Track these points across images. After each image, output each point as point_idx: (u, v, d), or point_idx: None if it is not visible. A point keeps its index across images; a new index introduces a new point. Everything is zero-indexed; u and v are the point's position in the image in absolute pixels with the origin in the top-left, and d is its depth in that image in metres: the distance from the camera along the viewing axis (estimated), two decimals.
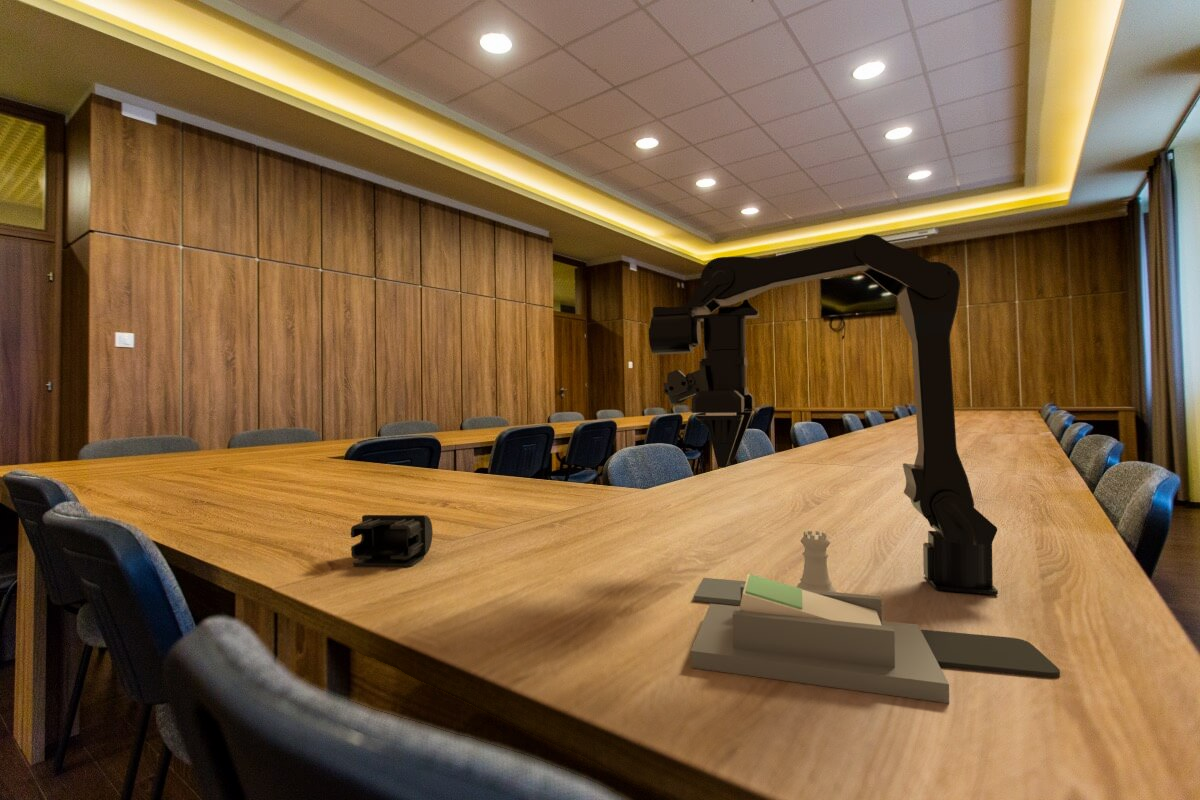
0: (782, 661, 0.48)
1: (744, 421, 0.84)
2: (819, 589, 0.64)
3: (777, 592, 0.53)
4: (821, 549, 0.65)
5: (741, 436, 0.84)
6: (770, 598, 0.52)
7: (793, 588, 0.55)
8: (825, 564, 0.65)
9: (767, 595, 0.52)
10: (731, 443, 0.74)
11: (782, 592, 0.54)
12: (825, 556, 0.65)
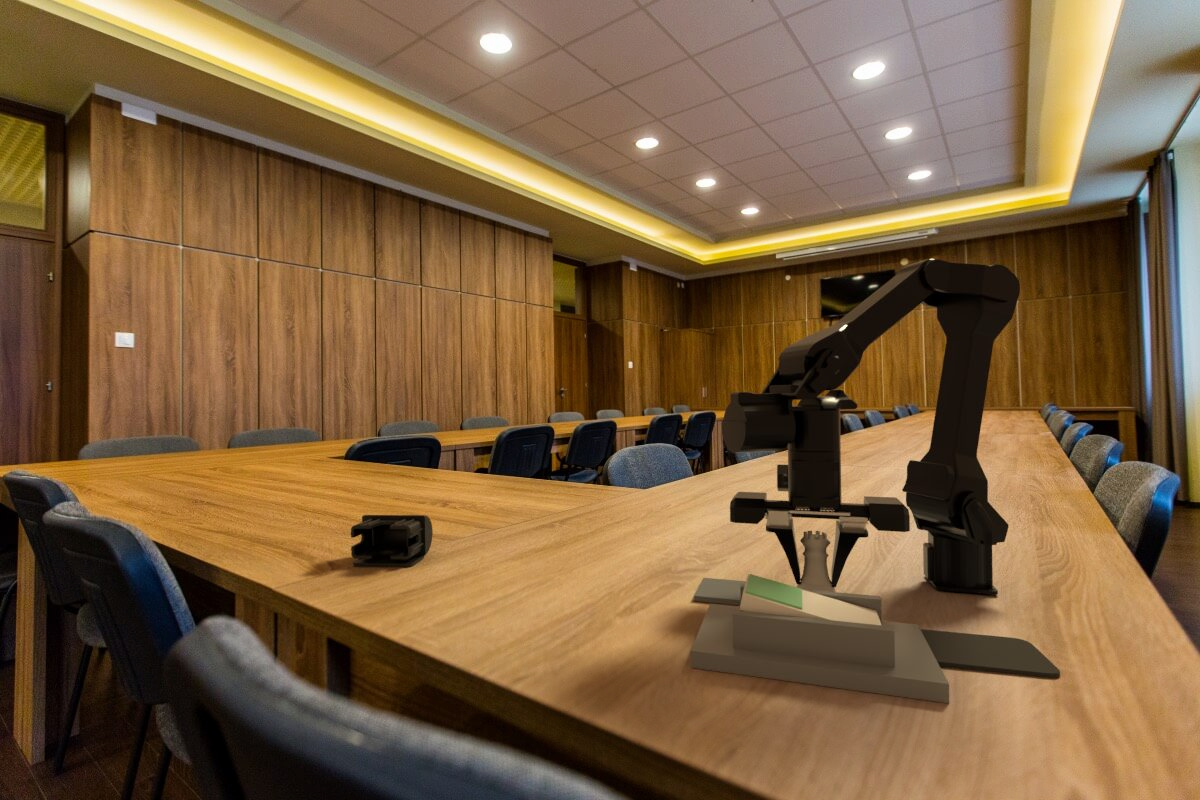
0: (782, 661, 0.48)
1: (837, 542, 0.63)
2: (819, 589, 0.64)
3: (777, 592, 0.53)
4: (821, 549, 0.65)
5: (834, 560, 0.64)
6: (770, 598, 0.52)
7: (793, 588, 0.55)
8: (826, 563, 0.65)
9: (767, 595, 0.52)
10: (789, 558, 0.65)
11: (782, 592, 0.54)
12: (825, 556, 0.65)
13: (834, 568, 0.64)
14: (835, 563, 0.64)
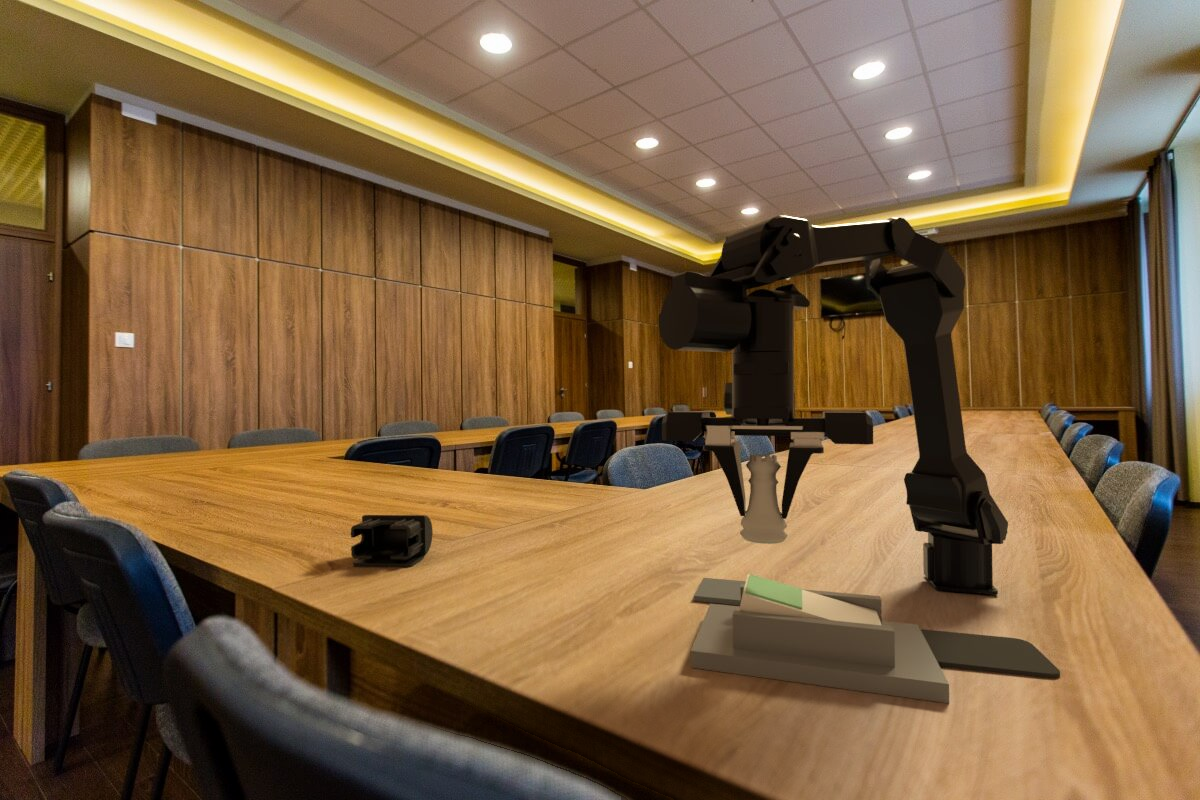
0: (782, 661, 0.48)
1: None
2: (765, 520, 0.53)
3: (777, 592, 0.53)
4: (769, 473, 0.54)
5: (784, 484, 0.53)
6: (770, 598, 0.52)
7: (793, 588, 0.55)
8: (775, 491, 0.54)
9: (767, 595, 0.52)
10: (730, 483, 0.54)
11: (782, 592, 0.54)
12: (774, 482, 0.54)
13: (784, 494, 0.53)
14: (785, 488, 0.53)
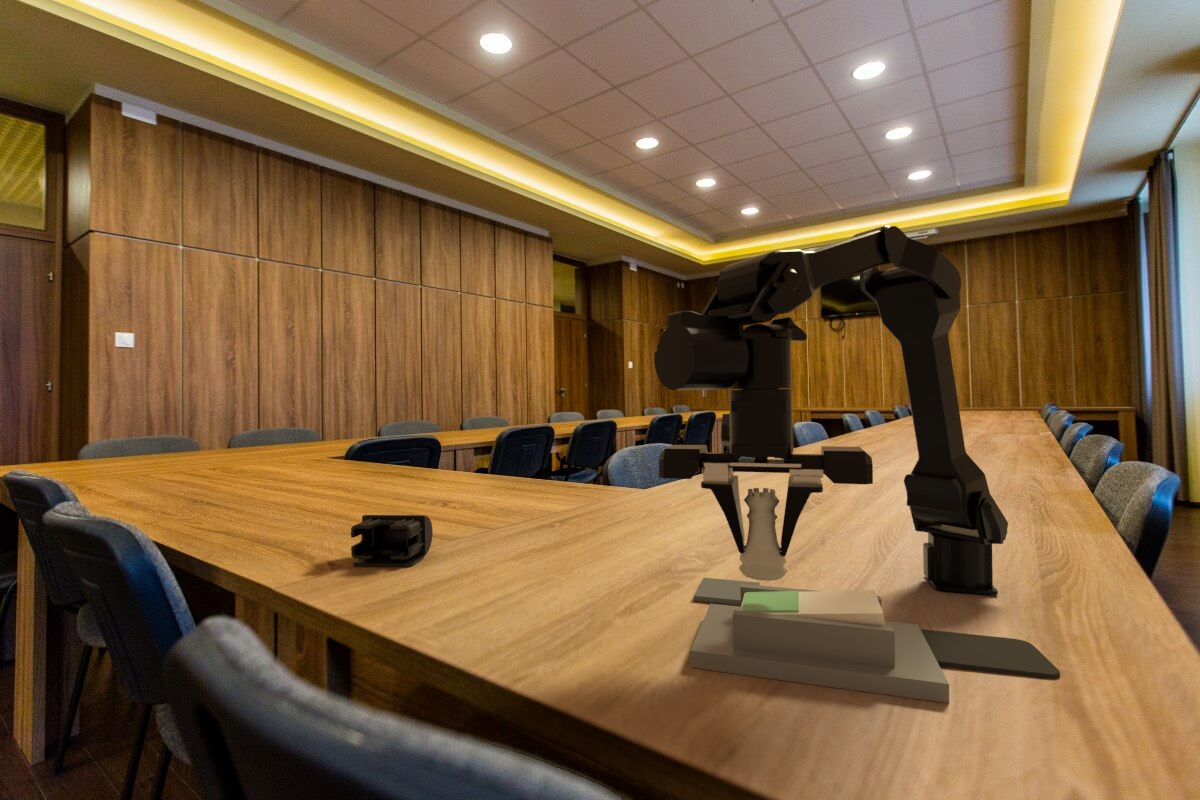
0: (782, 661, 0.48)
1: (786, 499, 0.52)
2: (765, 557, 0.53)
3: (773, 602, 0.53)
4: (768, 509, 0.53)
5: (783, 522, 0.52)
6: (766, 610, 0.52)
7: (789, 593, 0.55)
8: (773, 527, 0.53)
9: (763, 608, 0.52)
10: (729, 521, 0.54)
11: (778, 600, 0.54)
12: (773, 517, 0.53)
13: (783, 532, 0.52)
14: (784, 526, 0.52)
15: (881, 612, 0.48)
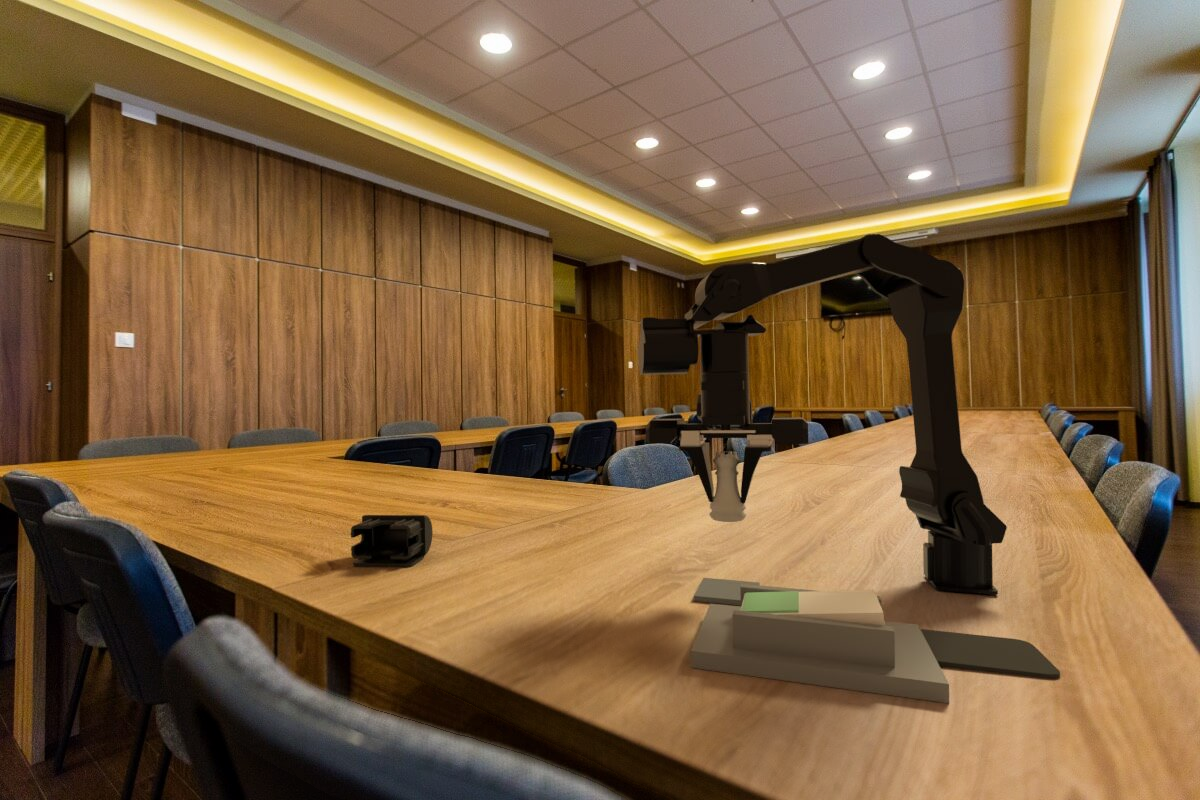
0: (782, 661, 0.48)
1: (744, 458, 0.66)
2: (728, 504, 0.67)
3: (773, 602, 0.53)
4: (730, 466, 0.68)
5: (742, 476, 0.67)
6: (766, 611, 0.52)
7: (789, 593, 0.55)
8: (735, 481, 0.68)
9: (763, 608, 0.52)
10: (701, 476, 0.69)
11: (778, 601, 0.54)
12: (734, 473, 0.68)
13: (742, 484, 0.67)
14: (742, 479, 0.67)
15: (881, 611, 0.48)
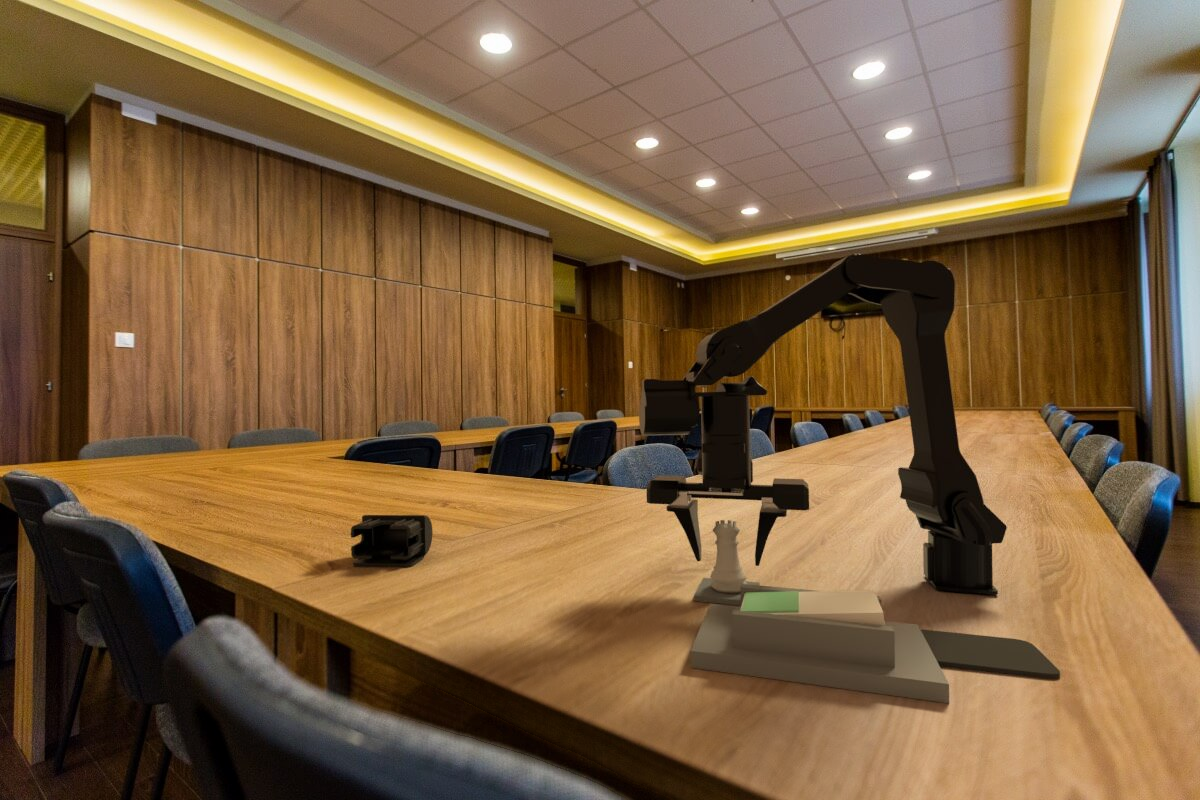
0: (782, 661, 0.48)
1: None
2: (728, 575, 0.68)
3: (773, 602, 0.53)
4: (730, 537, 0.68)
5: None
6: (766, 611, 0.52)
7: (789, 593, 0.55)
8: (735, 551, 0.68)
9: (763, 608, 0.52)
10: (688, 536, 0.69)
11: (778, 601, 0.54)
12: (734, 543, 0.68)
13: (756, 547, 0.67)
14: (757, 542, 0.66)
15: (881, 611, 0.48)
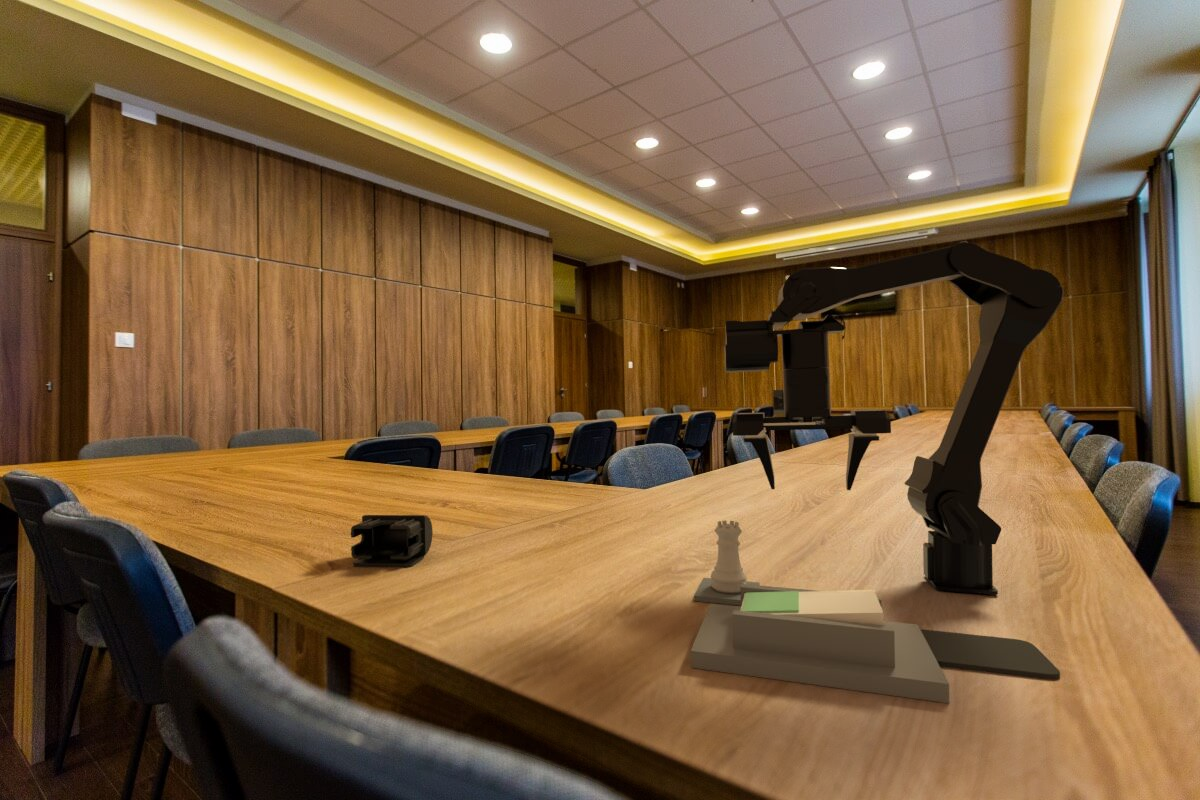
0: (782, 661, 0.48)
1: (851, 447, 0.71)
2: (729, 575, 0.67)
3: (773, 602, 0.53)
4: (732, 537, 0.68)
5: (849, 464, 0.71)
6: (766, 611, 0.52)
7: (789, 593, 0.55)
8: (737, 552, 0.68)
9: (763, 608, 0.52)
10: (764, 465, 0.74)
11: (778, 601, 0.54)
12: (736, 544, 0.68)
13: (849, 472, 0.71)
14: (850, 467, 0.71)
15: (881, 611, 0.48)
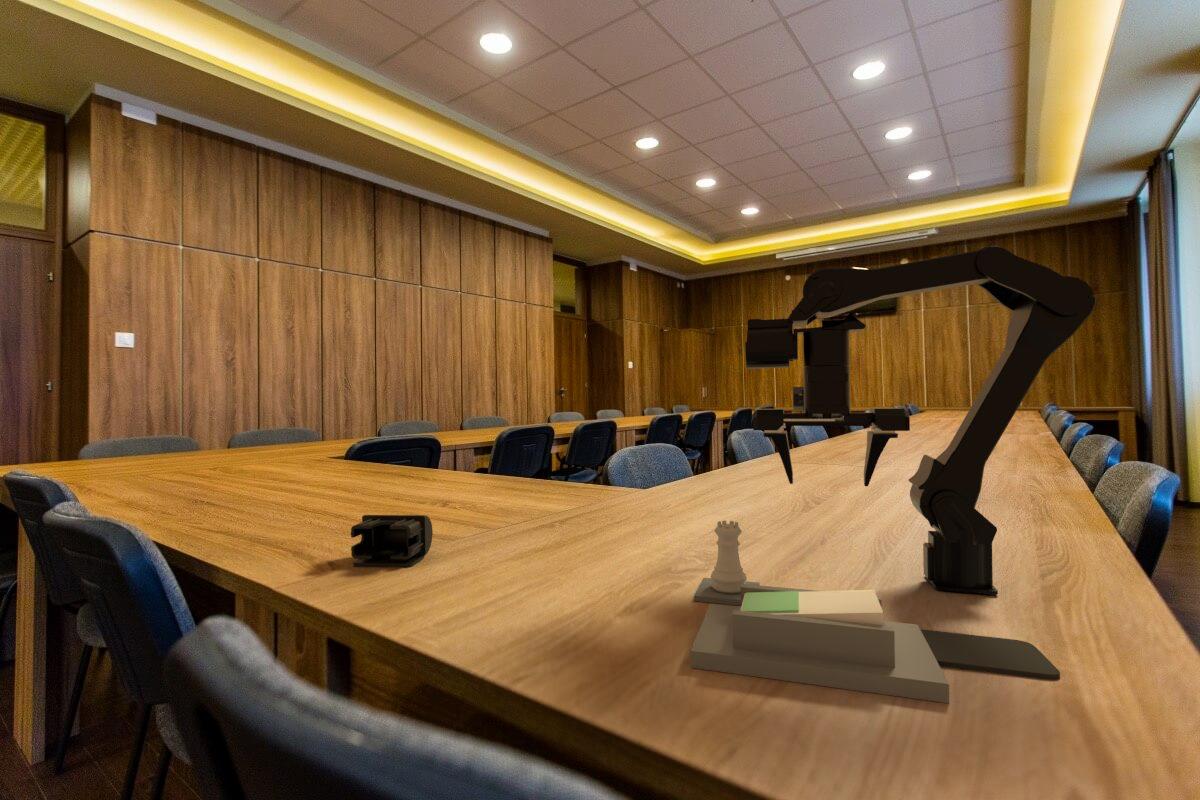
0: (782, 661, 0.48)
1: (870, 444, 0.72)
2: (729, 575, 0.67)
3: (773, 602, 0.53)
4: (732, 538, 0.68)
5: (867, 460, 0.73)
6: (766, 611, 0.52)
7: (789, 593, 0.55)
8: (737, 552, 0.68)
9: (763, 608, 0.52)
10: (783, 460, 0.76)
11: (778, 601, 0.54)
12: (736, 544, 0.68)
13: (867, 468, 0.73)
14: (868, 463, 0.72)
15: (881, 611, 0.48)
